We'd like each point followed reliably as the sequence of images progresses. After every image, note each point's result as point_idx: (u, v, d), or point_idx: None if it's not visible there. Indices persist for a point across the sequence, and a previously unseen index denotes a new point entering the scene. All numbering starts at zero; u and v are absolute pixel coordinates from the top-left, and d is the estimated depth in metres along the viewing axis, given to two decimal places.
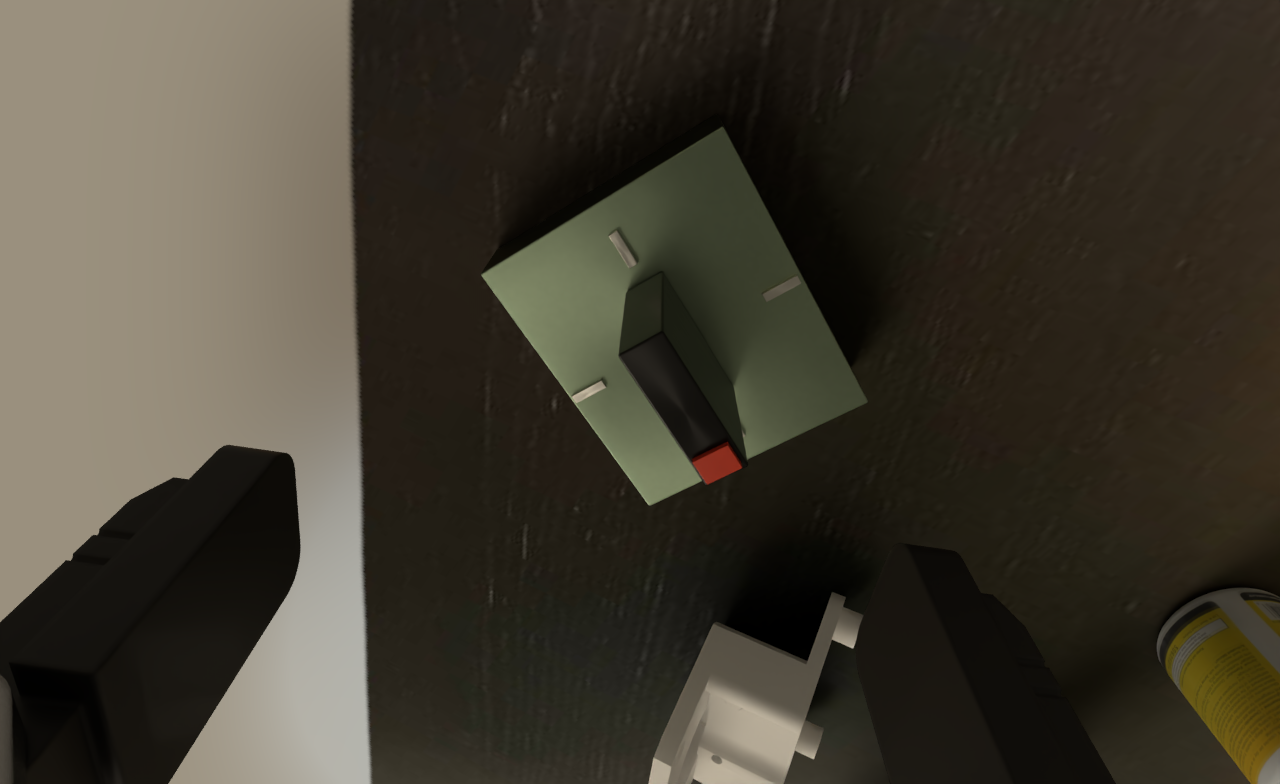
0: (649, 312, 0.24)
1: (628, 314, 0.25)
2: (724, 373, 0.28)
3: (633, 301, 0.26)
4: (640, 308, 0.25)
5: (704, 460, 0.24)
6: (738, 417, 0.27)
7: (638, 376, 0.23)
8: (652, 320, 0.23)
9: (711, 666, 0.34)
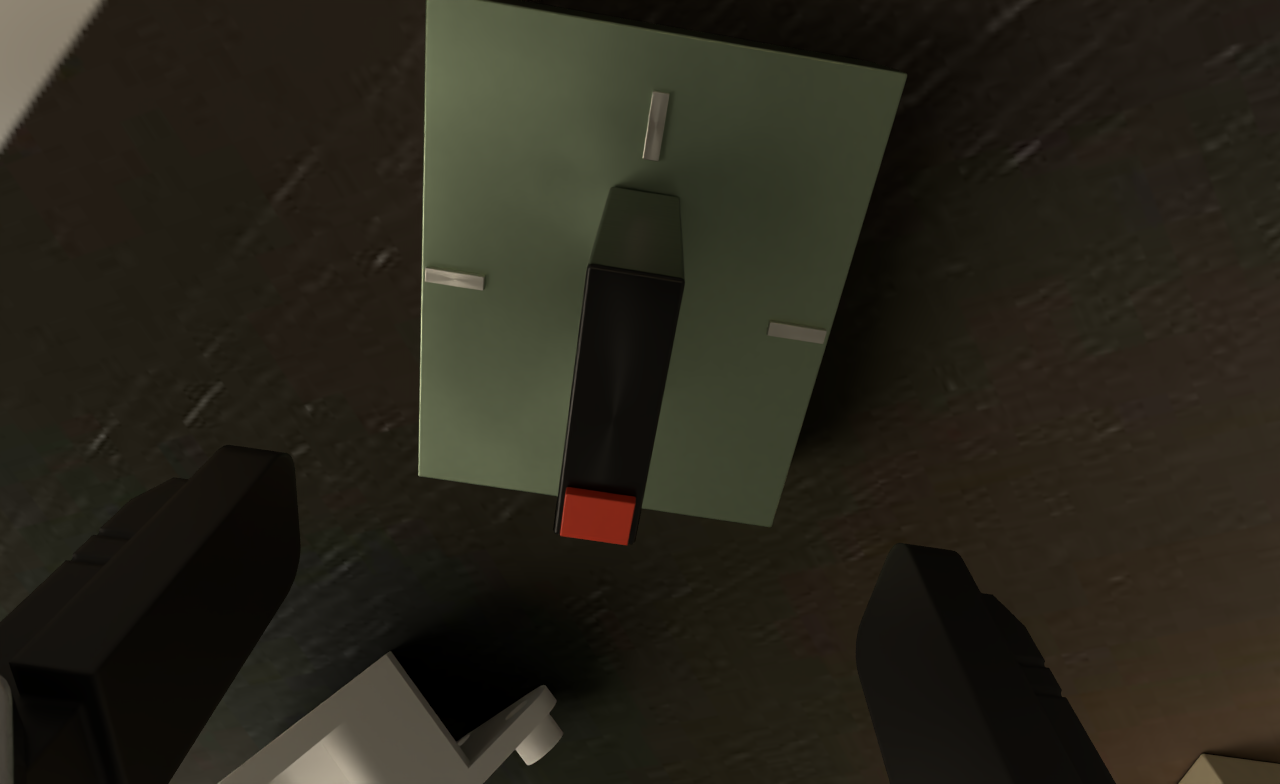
0: (658, 237, 0.14)
1: (614, 216, 0.14)
2: None
3: (625, 206, 0.15)
4: (639, 221, 0.14)
5: (584, 502, 0.14)
6: None
7: (591, 318, 0.12)
8: (663, 251, 0.13)
9: (348, 712, 0.23)
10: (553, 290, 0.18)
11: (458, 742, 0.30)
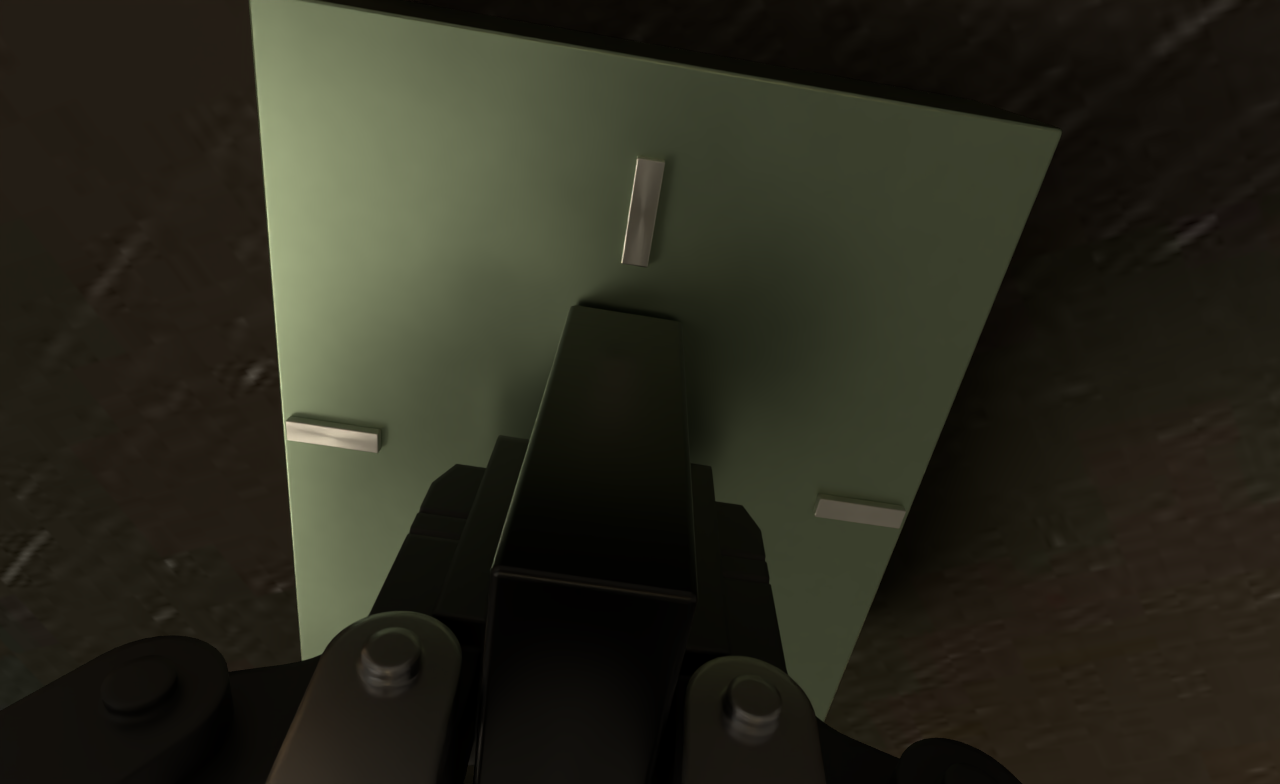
0: (644, 443, 0.07)
1: (568, 385, 0.08)
2: None
3: (591, 354, 0.09)
4: (612, 398, 0.08)
5: None
6: None
7: (507, 659, 0.06)
8: (653, 492, 0.07)
9: None
10: (487, 451, 0.12)
11: None
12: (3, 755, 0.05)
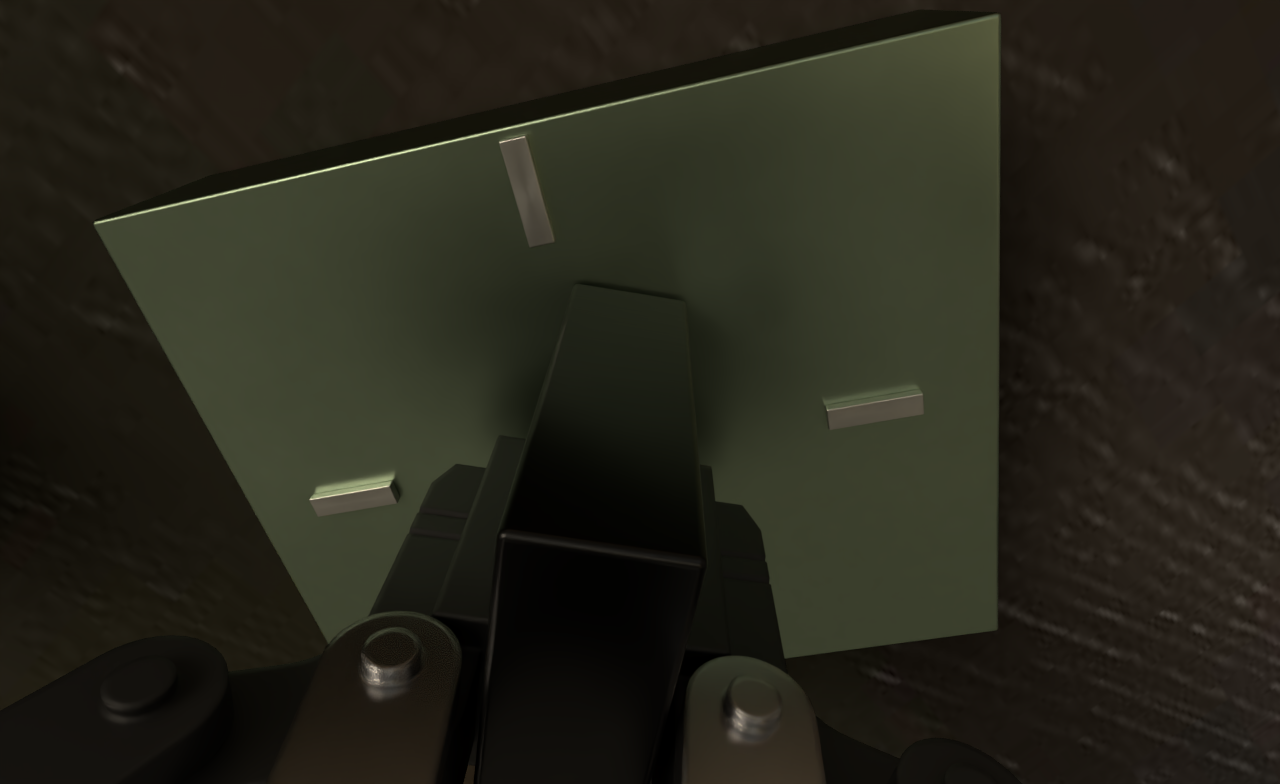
0: (651, 415, 0.07)
1: (573, 359, 0.08)
2: None
3: (596, 331, 0.09)
4: (616, 372, 0.08)
5: None
6: None
7: (511, 627, 0.06)
8: (660, 461, 0.07)
9: None
10: None
11: None
12: (3, 755, 0.05)
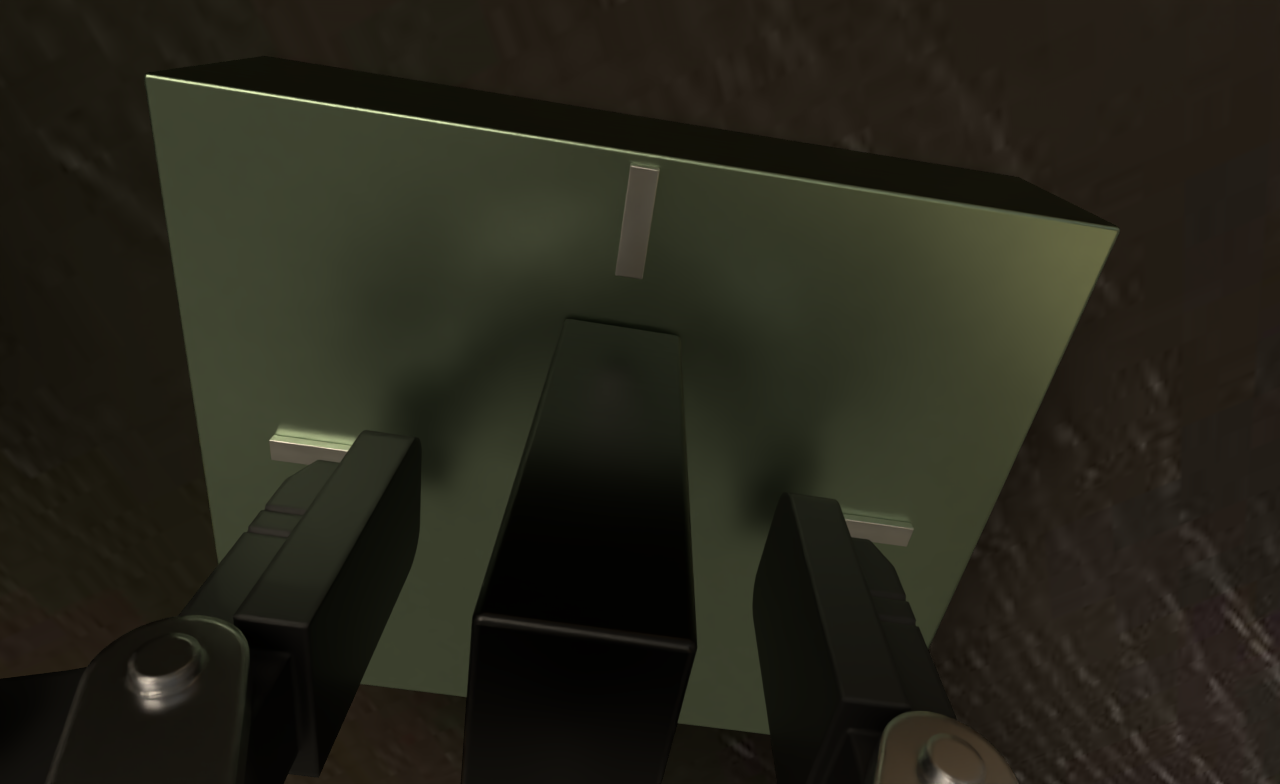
0: (640, 470, 0.07)
1: (560, 407, 0.08)
2: None
3: (586, 373, 0.09)
4: (607, 421, 0.08)
5: None
6: None
7: (490, 711, 0.06)
8: (649, 526, 0.06)
9: None
10: None
11: None
12: None
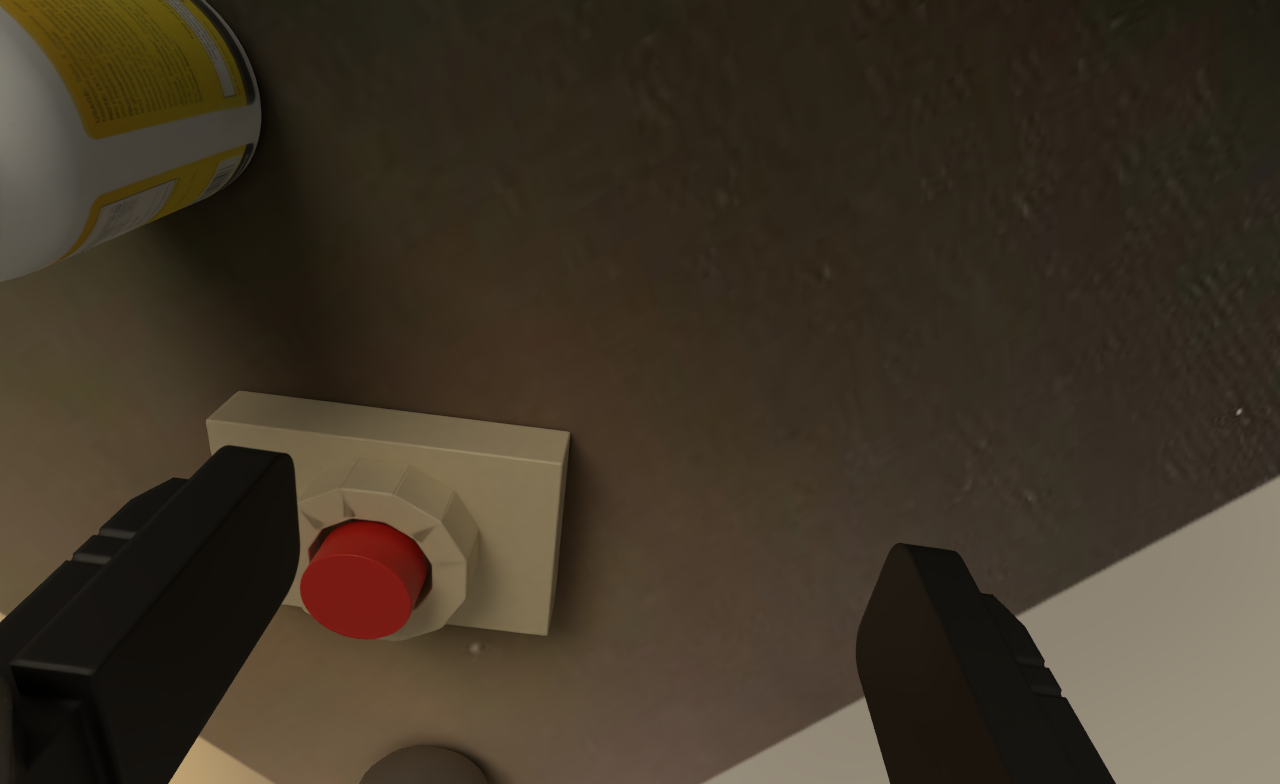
0: None
1: None
2: None
3: None
4: None
5: None
6: None
7: None
8: None
9: None
10: None
11: None
12: None
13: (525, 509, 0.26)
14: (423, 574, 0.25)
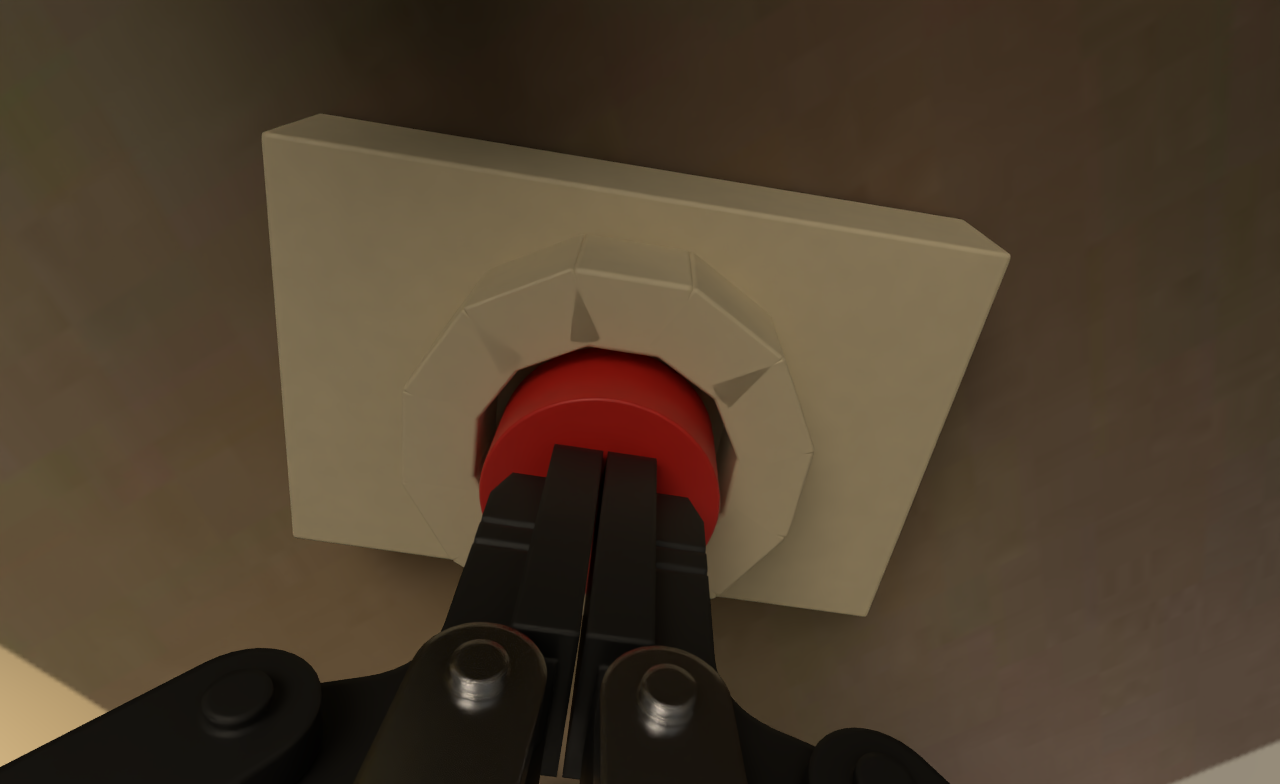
0: None
1: None
2: None
3: None
4: None
5: None
6: None
7: None
8: None
9: None
10: None
11: None
12: (108, 757, 0.05)
13: (902, 360, 0.13)
14: None
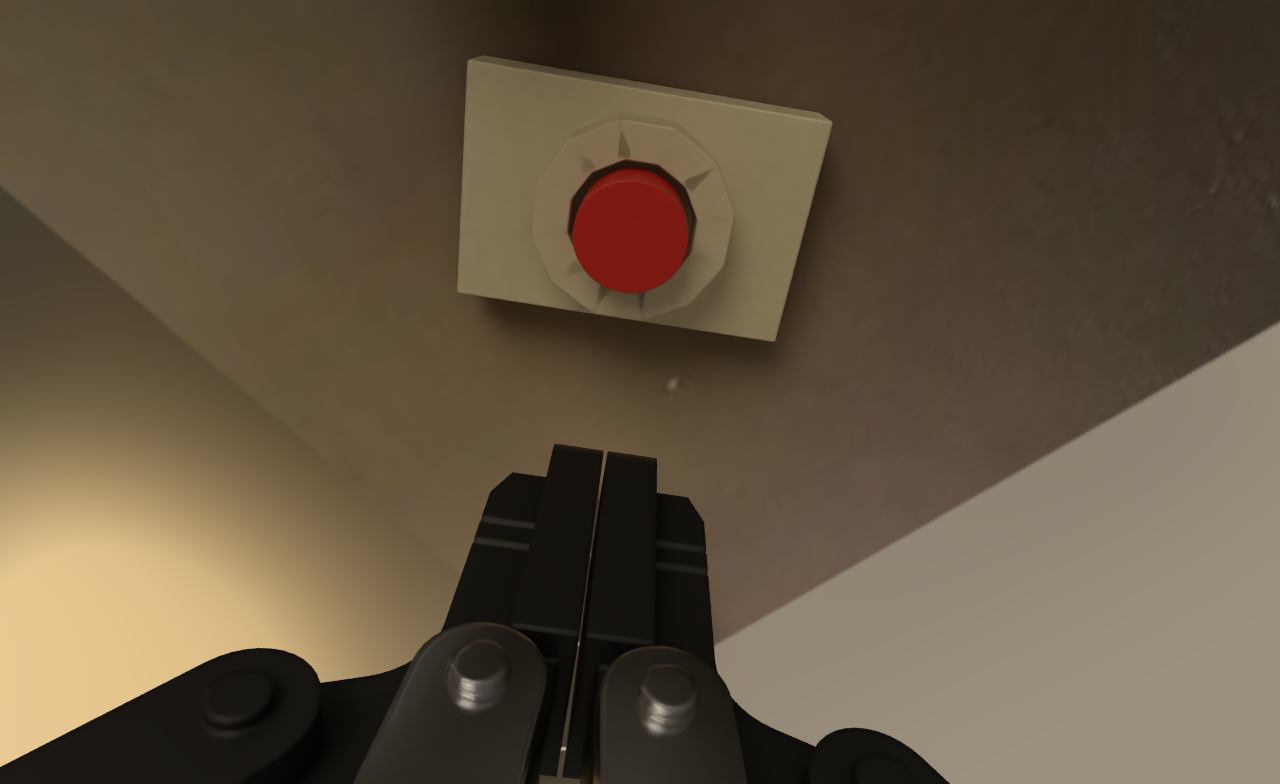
0: None
1: None
2: None
3: None
4: None
5: None
6: None
7: None
8: None
9: None
10: None
11: None
12: (108, 757, 0.05)
13: (782, 180, 0.25)
14: None
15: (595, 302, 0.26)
